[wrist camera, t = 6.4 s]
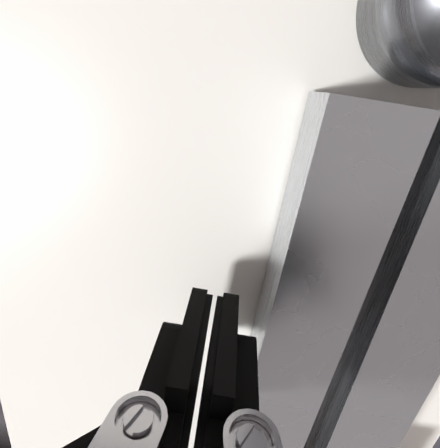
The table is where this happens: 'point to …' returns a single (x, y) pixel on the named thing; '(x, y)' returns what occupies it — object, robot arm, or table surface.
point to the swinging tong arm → (330, 245)
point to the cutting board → (149, 182)
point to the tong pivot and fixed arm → (394, 262)
